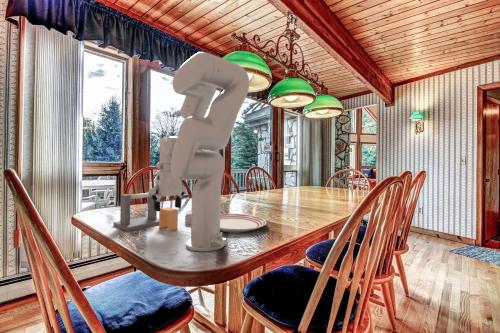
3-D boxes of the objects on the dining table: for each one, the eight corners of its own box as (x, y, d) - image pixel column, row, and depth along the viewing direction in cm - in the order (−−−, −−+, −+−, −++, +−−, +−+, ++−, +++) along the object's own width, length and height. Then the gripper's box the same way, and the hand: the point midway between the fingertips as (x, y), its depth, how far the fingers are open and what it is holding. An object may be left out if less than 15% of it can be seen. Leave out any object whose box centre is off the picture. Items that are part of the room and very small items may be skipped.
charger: (206, 217, 127) (206, 224, 112) (187, 217, 125) (185, 225, 110) (206, 207, 127) (206, 214, 112) (187, 208, 125) (185, 214, 110)
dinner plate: (267, 221, 121) (267, 214, 121) (265, 238, 94) (265, 229, 94) (211, 218, 124) (211, 211, 124) (193, 234, 97) (194, 225, 97)
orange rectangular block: (177, 229, 103) (177, 209, 103) (169, 231, 100) (169, 211, 100) (167, 226, 107) (167, 207, 107) (159, 227, 104) (159, 208, 104)
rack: (163, 223, 111) (164, 193, 110) (127, 231, 98) (127, 196, 98) (148, 219, 118) (149, 190, 118) (113, 225, 105) (113, 193, 105)
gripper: (154, 168, 94) (153, 213, 95) (191, 168, 108) (190, 207, 108) (144, 167, 99) (143, 210, 99) (180, 167, 112) (179, 205, 113)
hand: (167, 209), depth 104 cm, fingers open, 9 cm apart
